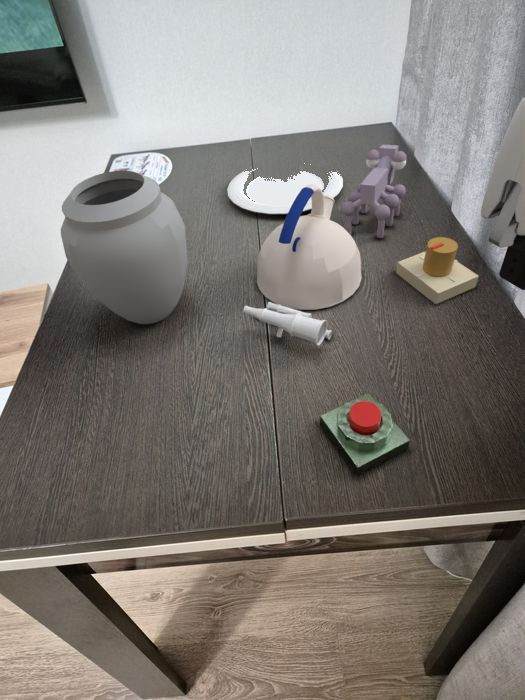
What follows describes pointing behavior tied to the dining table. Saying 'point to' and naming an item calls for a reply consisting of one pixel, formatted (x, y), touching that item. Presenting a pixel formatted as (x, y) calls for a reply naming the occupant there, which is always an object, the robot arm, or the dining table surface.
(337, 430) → the switch block
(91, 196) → the vase
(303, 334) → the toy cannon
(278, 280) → the kettle
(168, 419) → the dining table surface
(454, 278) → the dimmer panel
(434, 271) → the dimmer knob
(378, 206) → the lavender toy animal
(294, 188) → the plate
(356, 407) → the button
